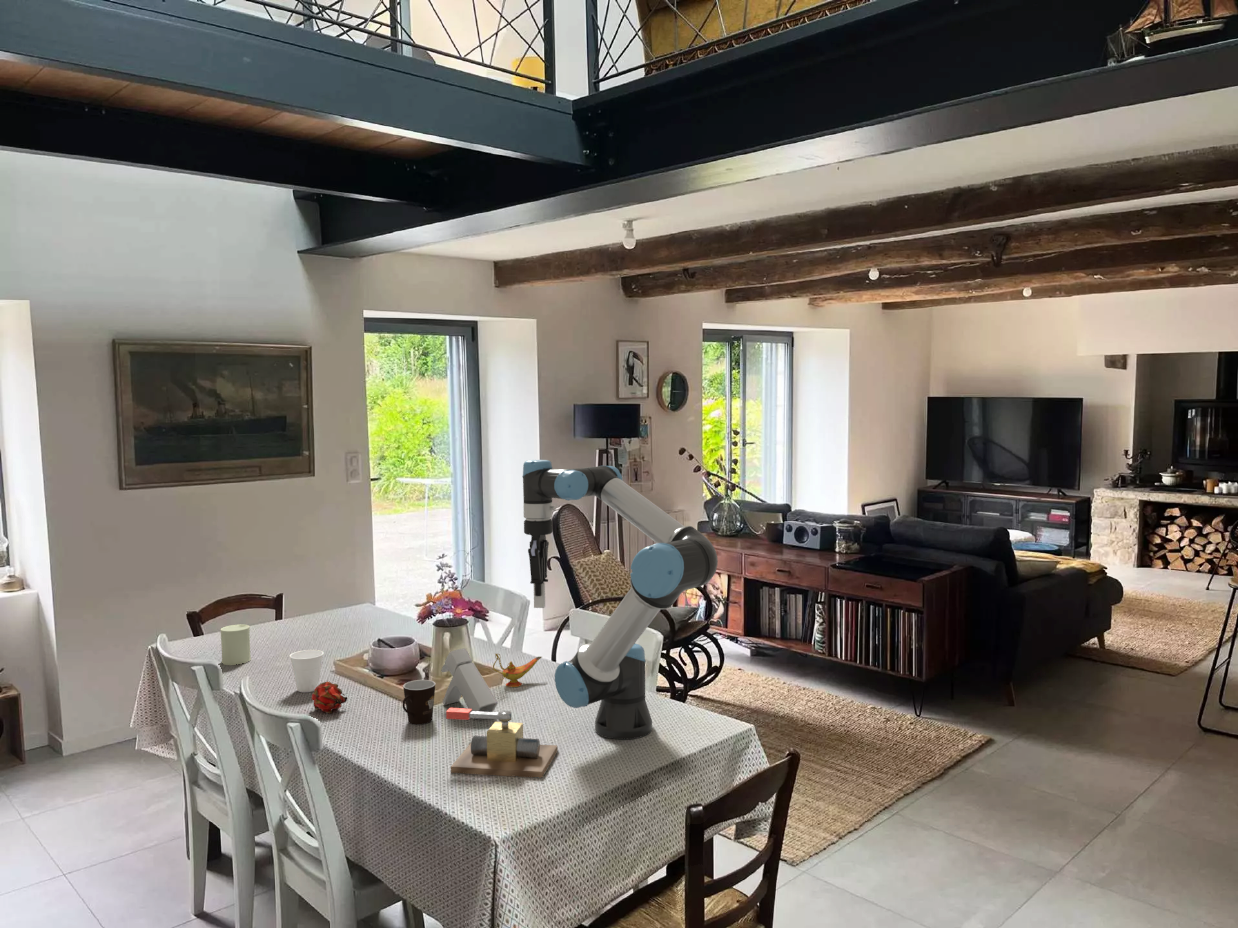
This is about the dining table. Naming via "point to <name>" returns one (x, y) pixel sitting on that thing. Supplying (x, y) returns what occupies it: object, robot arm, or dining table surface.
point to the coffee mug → (419, 701)
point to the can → (235, 644)
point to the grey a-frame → (467, 683)
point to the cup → (306, 669)
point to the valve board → (505, 764)
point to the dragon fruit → (328, 697)
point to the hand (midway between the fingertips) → (539, 607)
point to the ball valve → (505, 743)
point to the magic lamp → (515, 671)
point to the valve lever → (477, 714)
